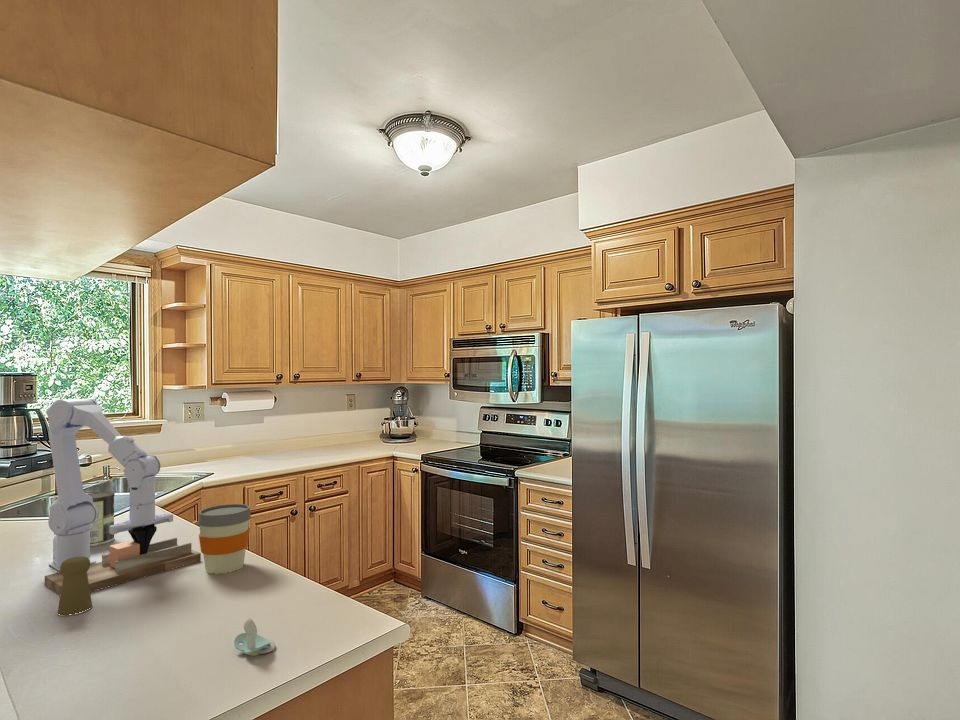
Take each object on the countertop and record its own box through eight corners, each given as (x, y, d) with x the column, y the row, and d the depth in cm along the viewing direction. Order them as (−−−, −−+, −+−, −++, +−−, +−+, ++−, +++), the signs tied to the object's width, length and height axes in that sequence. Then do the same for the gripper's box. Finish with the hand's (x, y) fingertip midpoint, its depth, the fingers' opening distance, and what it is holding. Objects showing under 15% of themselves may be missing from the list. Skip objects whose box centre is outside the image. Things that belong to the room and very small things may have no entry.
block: (109, 565, 138) (109, 545, 138) (131, 559, 142) (131, 540, 142) (117, 569, 135) (117, 549, 135) (139, 563, 139) (139, 543, 139)
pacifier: (260, 639, 103) (229, 651, 98) (261, 605, 103) (231, 615, 99) (282, 650, 99) (251, 663, 94) (283, 615, 99) (252, 626, 94)
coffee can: (105, 535, 172) (105, 490, 172) (120, 540, 166) (121, 493, 167) (66, 543, 163) (66, 496, 164) (82, 549, 158) (82, 500, 158)
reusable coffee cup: (205, 580, 132) (205, 518, 133) (191, 567, 142) (191, 509, 142) (258, 568, 140) (257, 509, 141) (242, 556, 150) (241, 501, 150)
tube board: (44, 584, 131) (44, 565, 131) (174, 550, 155) (174, 534, 155) (66, 598, 122) (66, 578, 122) (200, 560, 146) (200, 544, 147)
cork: (73, 617, 113) (73, 563, 113) (49, 615, 114) (50, 562, 114) (99, 604, 119) (99, 554, 119) (76, 603, 120) (76, 552, 120)
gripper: (117, 510, 134) (117, 566, 134) (178, 499, 146) (178, 550, 145) (106, 507, 138) (105, 560, 138) (166, 496, 150) (166, 545, 149)
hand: (142, 555), depth 142 cm, fingers closed
